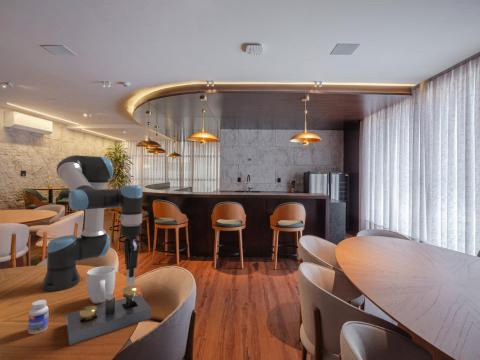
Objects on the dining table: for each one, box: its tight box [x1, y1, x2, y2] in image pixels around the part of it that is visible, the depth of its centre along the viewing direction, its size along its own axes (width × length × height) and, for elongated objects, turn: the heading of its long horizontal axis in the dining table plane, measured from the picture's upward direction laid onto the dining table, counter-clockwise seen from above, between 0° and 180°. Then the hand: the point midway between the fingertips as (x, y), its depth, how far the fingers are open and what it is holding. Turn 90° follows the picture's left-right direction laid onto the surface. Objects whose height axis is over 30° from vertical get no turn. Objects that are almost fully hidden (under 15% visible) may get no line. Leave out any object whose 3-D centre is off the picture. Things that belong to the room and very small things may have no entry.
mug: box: [86, 265, 116, 304], centre depth 107 cm, size 15×11×13 cm
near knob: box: [79, 305, 97, 322], centre depth 88 cm, size 5×5×6 cm
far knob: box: [122, 284, 138, 306], centre depth 97 cm, size 5×5×6 cm
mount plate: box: [66, 294, 152, 347], centre depth 92 cm, size 14×26×4 cm, turn 128°
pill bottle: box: [27, 299, 49, 335], centre depth 86 cm, size 5×5×10 cm
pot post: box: [104, 293, 116, 313], centre depth 92 cm, size 3×3×6 cm
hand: (130, 284), depth 96 cm, fingers closed
